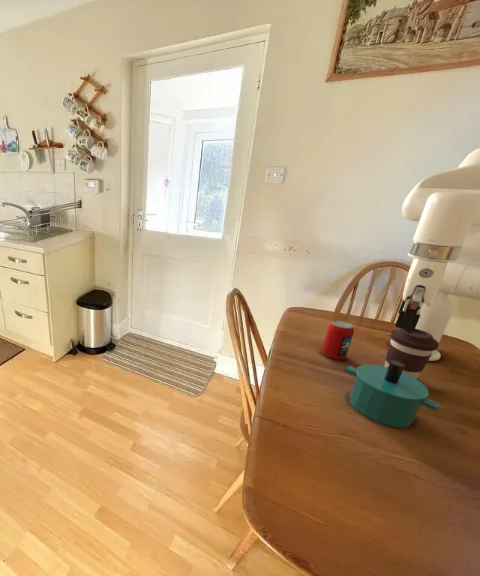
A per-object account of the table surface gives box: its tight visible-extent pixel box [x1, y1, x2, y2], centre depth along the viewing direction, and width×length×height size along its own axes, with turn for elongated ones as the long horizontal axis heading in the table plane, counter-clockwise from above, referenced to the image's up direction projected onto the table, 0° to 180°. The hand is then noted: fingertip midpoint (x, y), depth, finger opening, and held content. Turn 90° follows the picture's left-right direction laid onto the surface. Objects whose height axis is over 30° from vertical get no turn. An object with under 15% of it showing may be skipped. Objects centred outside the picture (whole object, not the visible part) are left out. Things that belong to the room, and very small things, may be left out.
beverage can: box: [320, 319, 355, 360], centre depth 103 cm, size 7×7×12 cm
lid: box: [356, 361, 429, 401], centre depth 78 cm, size 14×14×6 cm
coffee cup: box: [383, 328, 440, 380], centre depth 92 cm, size 10×10×15 cm
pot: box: [344, 365, 441, 428], centre depth 80 cm, size 13×18×8 cm
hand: (405, 321), depth 74 cm, fingers open, 9 cm apart
